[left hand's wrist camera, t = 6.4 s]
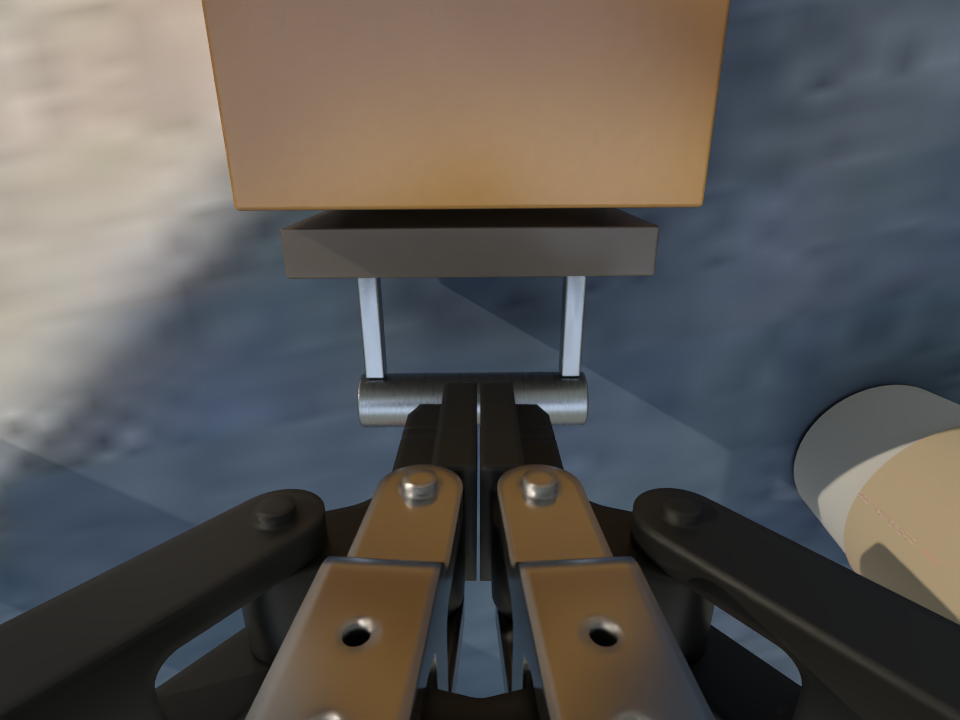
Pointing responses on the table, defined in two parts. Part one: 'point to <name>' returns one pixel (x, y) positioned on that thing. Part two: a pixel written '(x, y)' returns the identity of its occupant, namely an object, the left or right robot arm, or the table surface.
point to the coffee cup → (890, 490)
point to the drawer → (470, 253)
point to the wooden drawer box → (466, 102)
